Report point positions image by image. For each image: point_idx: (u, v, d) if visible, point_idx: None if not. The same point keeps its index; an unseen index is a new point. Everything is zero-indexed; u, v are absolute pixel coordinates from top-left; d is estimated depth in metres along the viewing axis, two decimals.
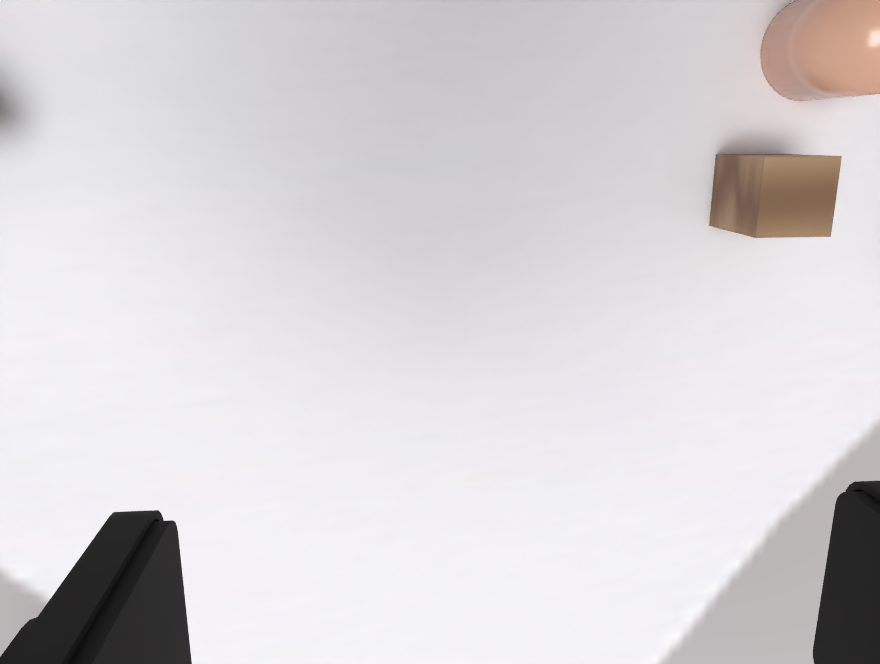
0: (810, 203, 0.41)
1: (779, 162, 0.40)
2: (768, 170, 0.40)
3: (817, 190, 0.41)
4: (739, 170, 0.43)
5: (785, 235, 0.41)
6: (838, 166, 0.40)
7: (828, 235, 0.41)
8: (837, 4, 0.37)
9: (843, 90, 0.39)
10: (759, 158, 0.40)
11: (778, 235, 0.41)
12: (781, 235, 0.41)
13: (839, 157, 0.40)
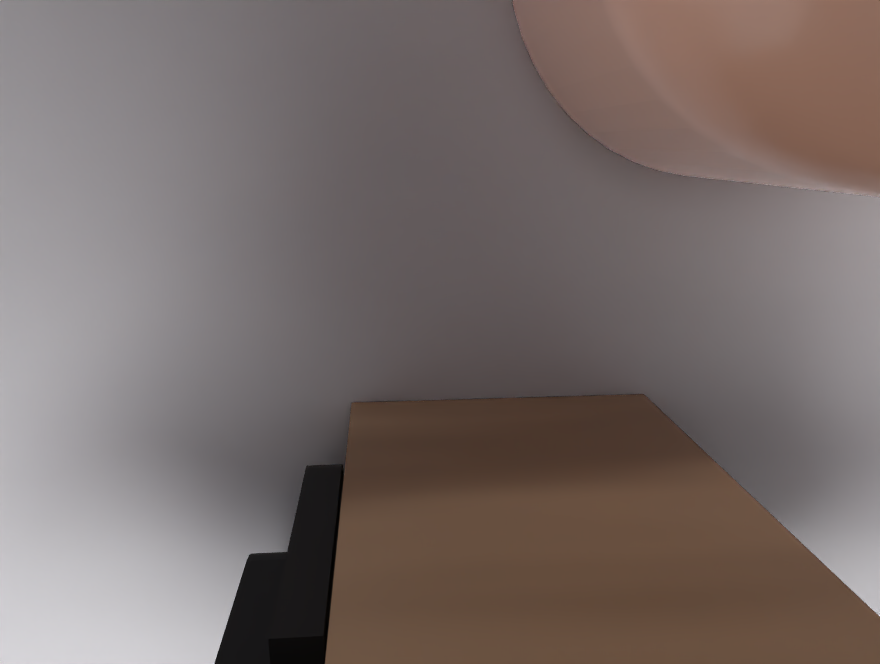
0: None
1: None
2: None
3: None
4: None
5: None
6: None
7: None
8: None
9: None
10: None
11: None
12: None
13: None
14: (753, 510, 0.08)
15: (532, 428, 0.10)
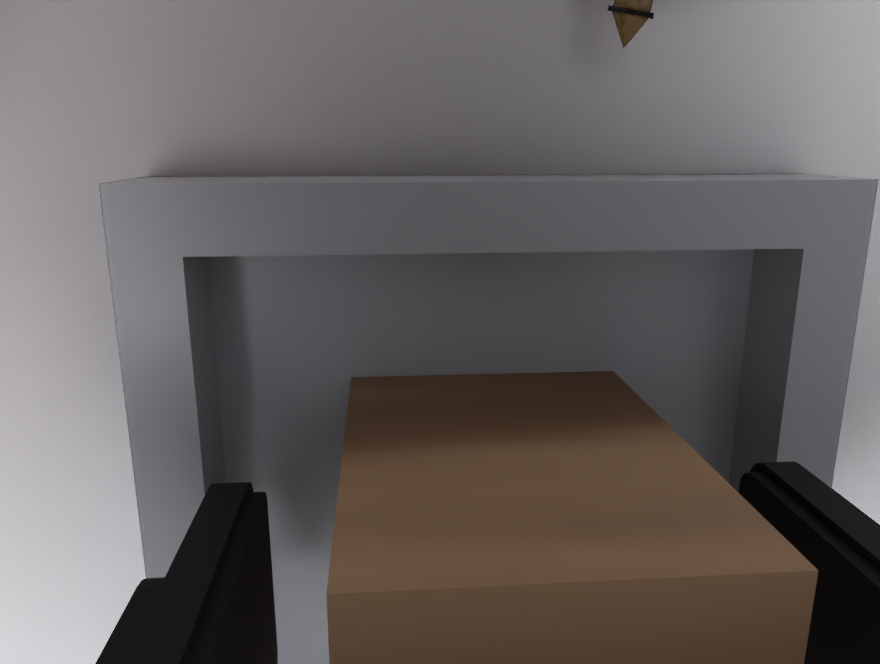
0: None
1: (429, 620, 0.06)
2: None
3: None
4: None
5: None
6: (799, 625, 0.07)
7: None
8: None
9: None
10: (330, 571, 0.07)
11: None
12: None
13: (804, 579, 0.07)
14: (694, 461, 0.09)
15: (511, 398, 0.11)
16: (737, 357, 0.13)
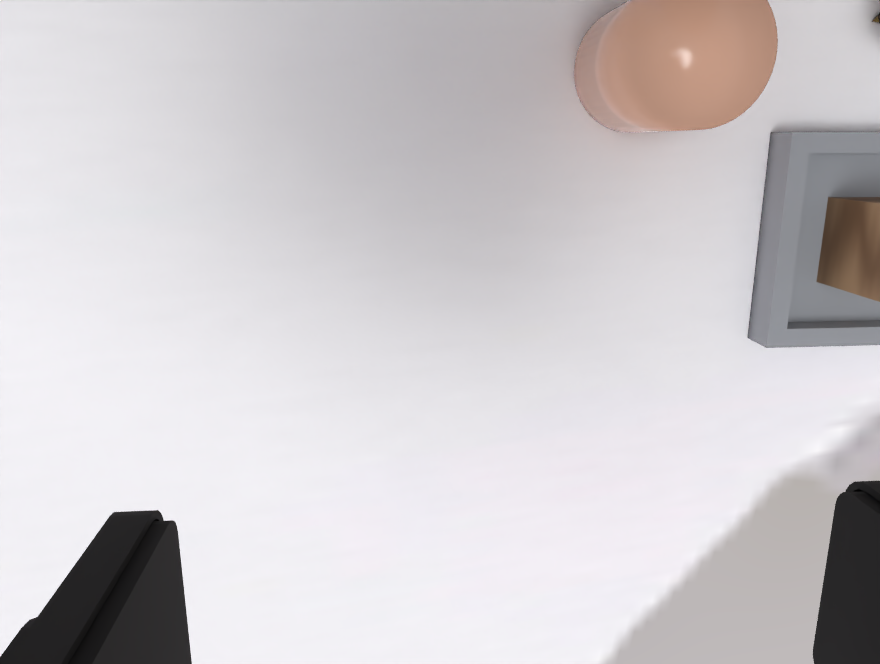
0: None
1: None
2: None
3: None
4: (867, 220, 0.35)
5: None
6: None
7: None
8: (629, 14, 0.29)
9: (650, 124, 0.31)
10: None
11: None
12: None
13: None
14: None
15: None
16: None
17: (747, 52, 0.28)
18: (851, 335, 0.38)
